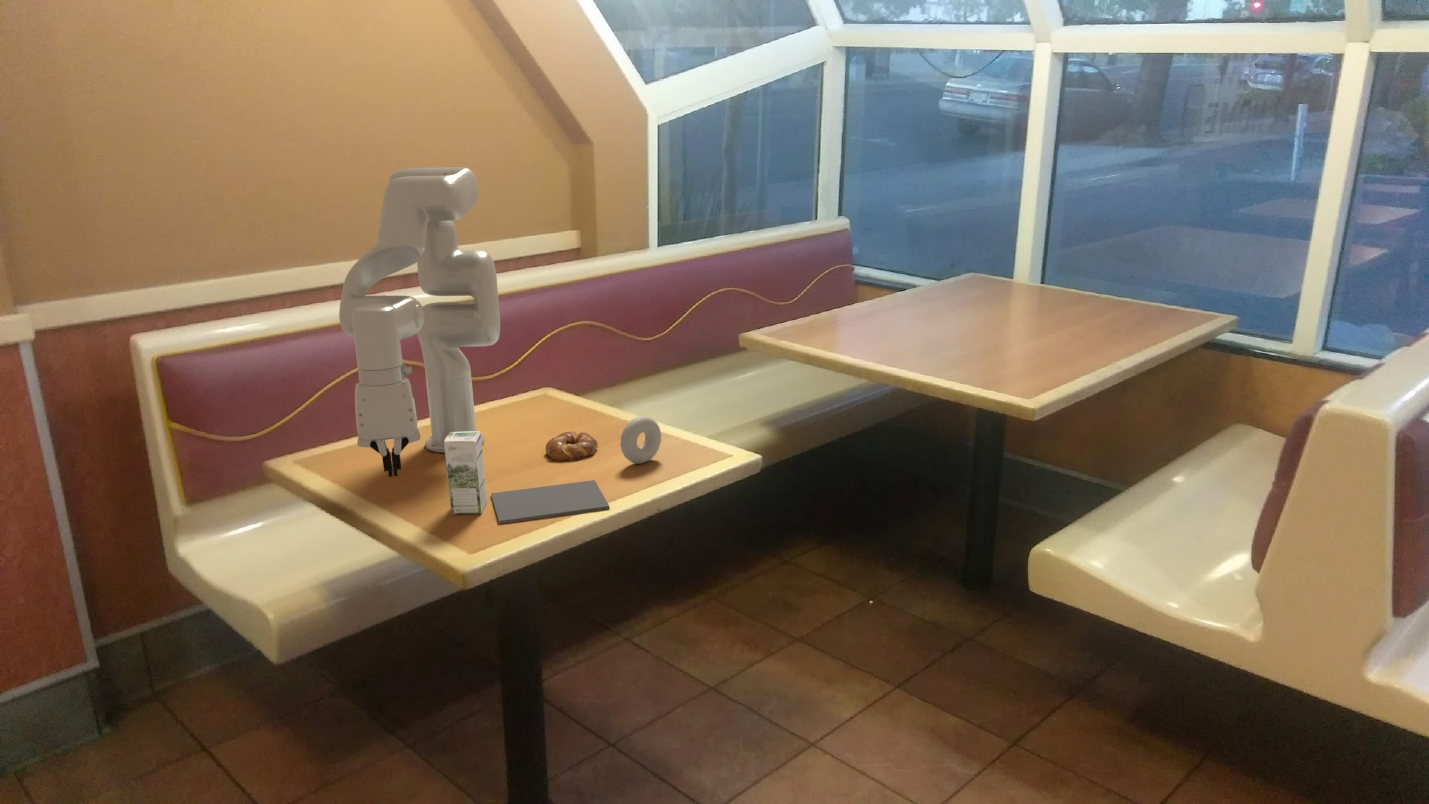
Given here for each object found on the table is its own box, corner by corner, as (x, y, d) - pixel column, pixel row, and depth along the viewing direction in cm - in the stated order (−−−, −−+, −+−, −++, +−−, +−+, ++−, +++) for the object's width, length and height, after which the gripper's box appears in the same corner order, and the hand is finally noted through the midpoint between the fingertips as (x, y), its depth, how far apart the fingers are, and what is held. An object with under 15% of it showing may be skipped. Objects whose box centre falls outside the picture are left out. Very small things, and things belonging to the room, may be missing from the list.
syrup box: (487, 502, 190) (481, 429, 186) (482, 515, 184) (475, 439, 180) (457, 503, 190) (450, 430, 185) (450, 515, 184) (442, 440, 180)
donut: (654, 454, 213) (653, 409, 211) (665, 458, 211) (664, 412, 208) (617, 466, 207) (615, 420, 204) (628, 471, 204) (626, 424, 202)
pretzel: (574, 466, 209) (573, 449, 207) (533, 458, 214) (532, 442, 213) (608, 448, 218) (607, 432, 217) (568, 441, 224) (567, 425, 223)
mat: (491, 496, 193) (491, 493, 192) (594, 482, 198) (594, 480, 198) (499, 524, 180) (499, 520, 180) (609, 508, 186) (609, 505, 185)
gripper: (425, 366, 181) (435, 462, 186) (337, 374, 177) (349, 472, 182) (426, 376, 174) (437, 476, 179) (335, 385, 170) (348, 486, 175)
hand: (393, 474), depth 181 cm, fingers closed
